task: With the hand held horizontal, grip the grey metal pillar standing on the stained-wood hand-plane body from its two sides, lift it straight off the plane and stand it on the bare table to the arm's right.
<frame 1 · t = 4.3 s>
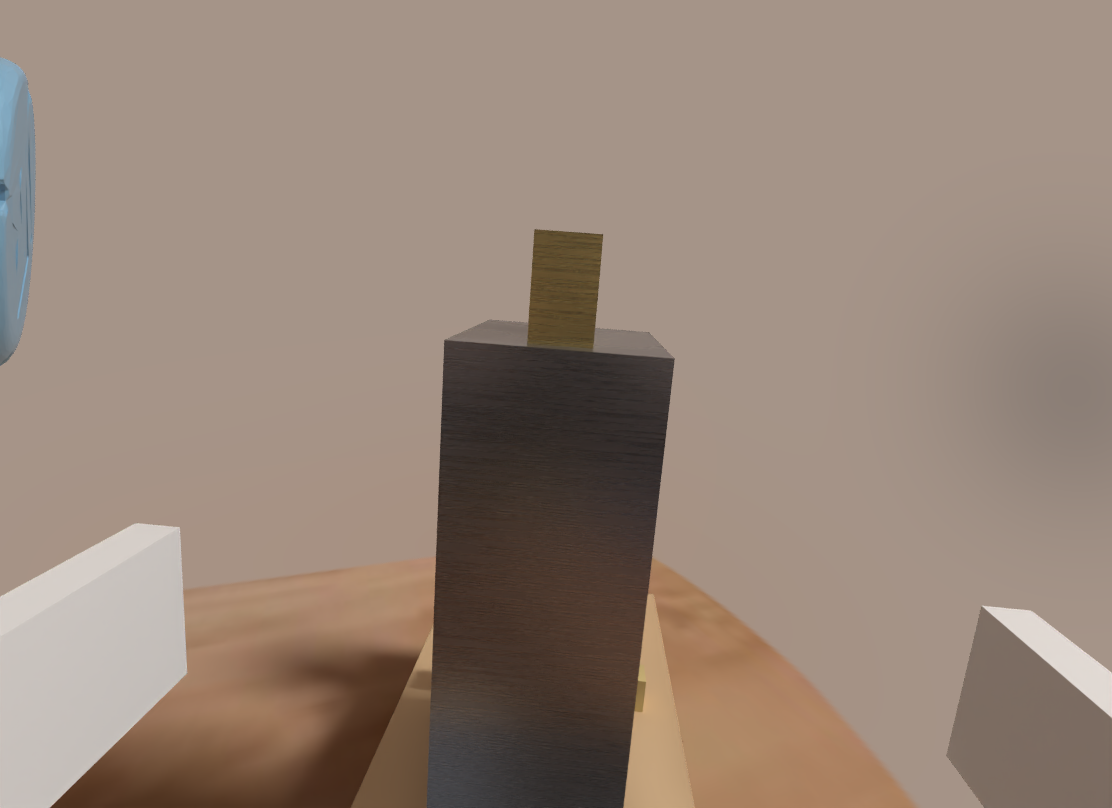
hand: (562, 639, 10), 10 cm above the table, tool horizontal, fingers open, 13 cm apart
grey metal pillar: (530, 779, 16), point 4 cm above the table, touching plane body
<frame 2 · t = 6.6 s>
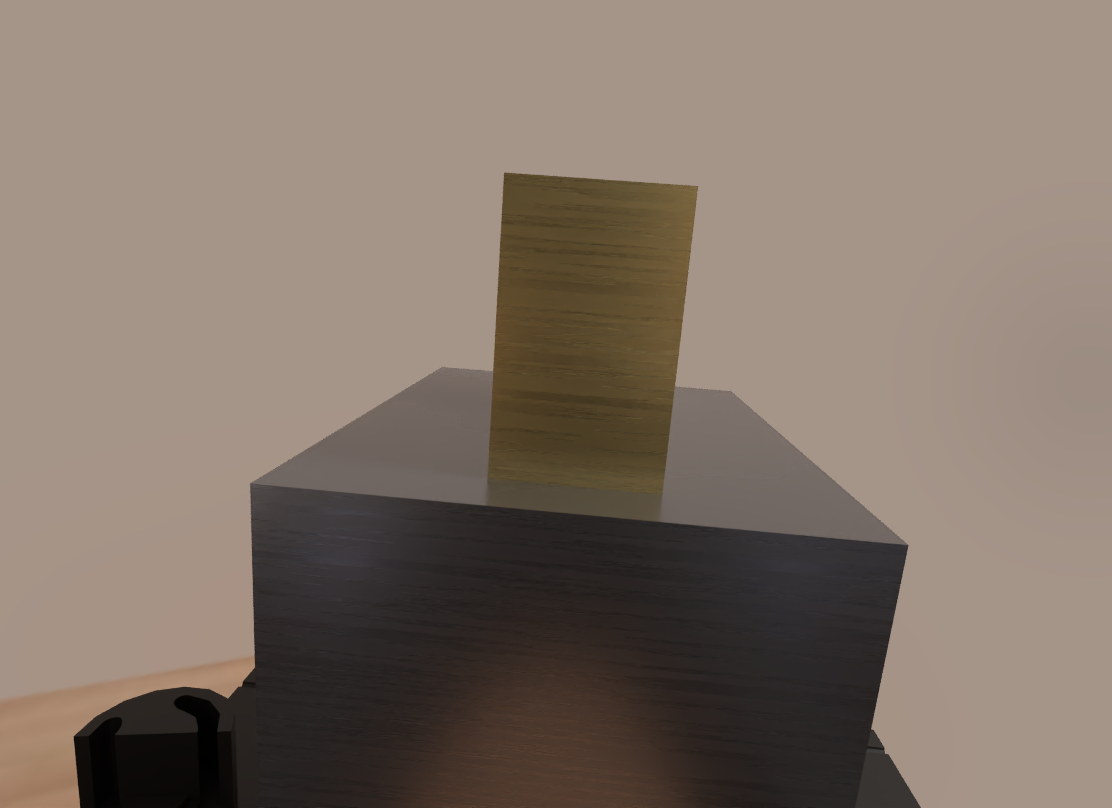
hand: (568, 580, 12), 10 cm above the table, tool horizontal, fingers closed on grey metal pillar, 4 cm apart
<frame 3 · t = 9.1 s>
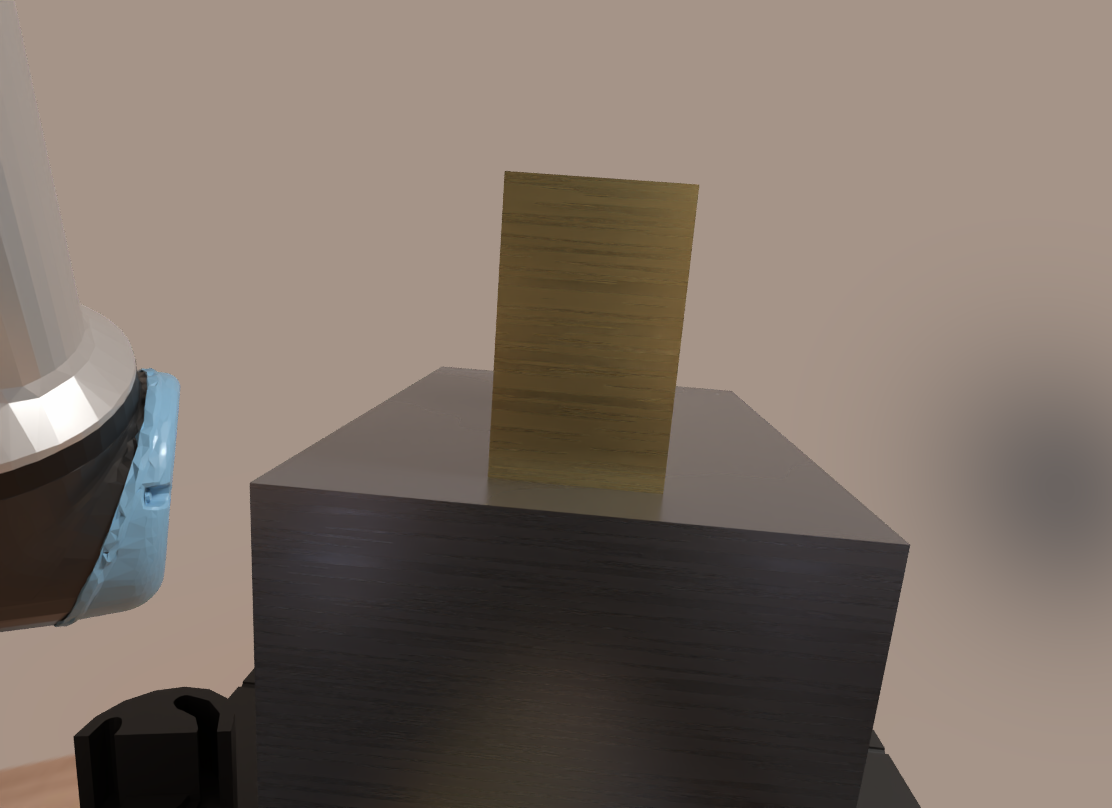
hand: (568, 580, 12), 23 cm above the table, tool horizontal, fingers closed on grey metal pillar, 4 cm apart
when the fingers open (7 cm above the table, at t = 12.1 s): grey metal pillar stays where it is, on the table.
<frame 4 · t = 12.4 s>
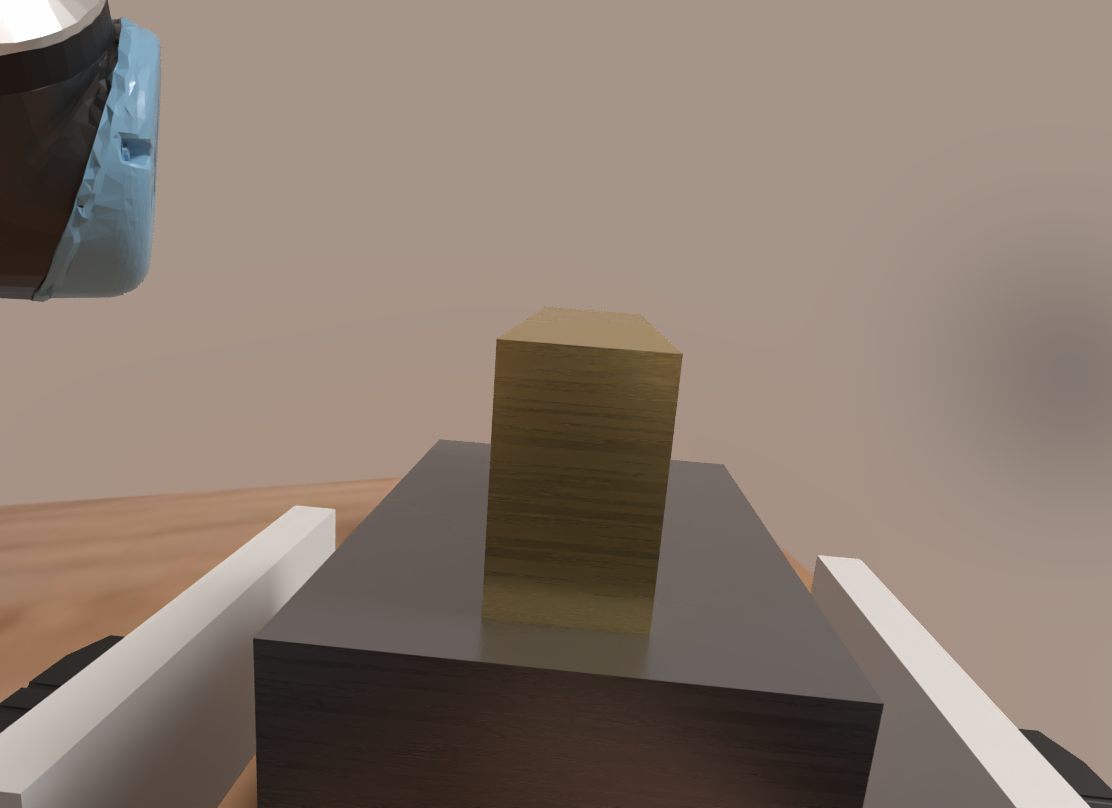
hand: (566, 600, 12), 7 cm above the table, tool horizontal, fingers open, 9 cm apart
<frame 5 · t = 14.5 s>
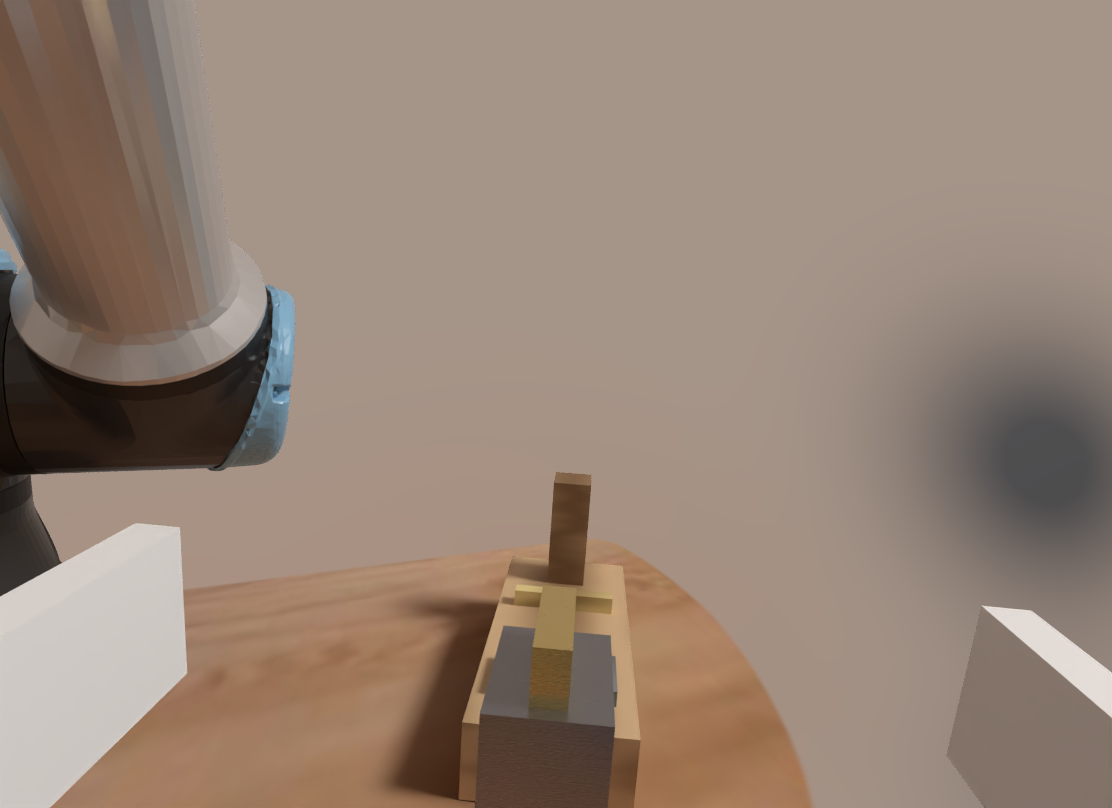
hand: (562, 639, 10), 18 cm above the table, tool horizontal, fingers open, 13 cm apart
plane body: (556, 687, 38), on the table
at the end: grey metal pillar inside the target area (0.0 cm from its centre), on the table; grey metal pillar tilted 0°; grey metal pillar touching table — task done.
